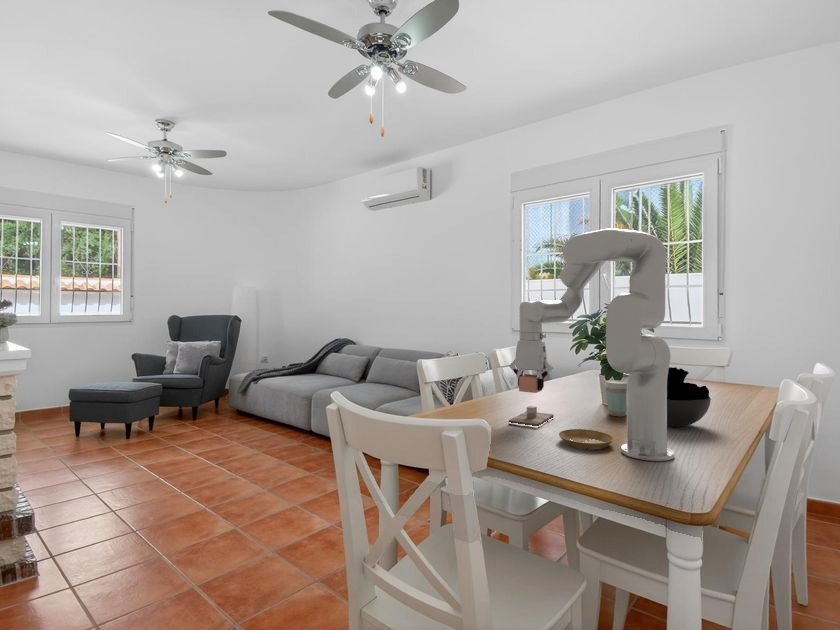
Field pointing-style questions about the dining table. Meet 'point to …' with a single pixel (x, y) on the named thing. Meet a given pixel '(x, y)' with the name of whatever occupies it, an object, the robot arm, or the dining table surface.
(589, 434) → the plant saucer
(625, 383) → the coffee cup
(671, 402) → the coal bowl
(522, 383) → the salmon pink cube
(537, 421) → the base
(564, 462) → the dining table surface
